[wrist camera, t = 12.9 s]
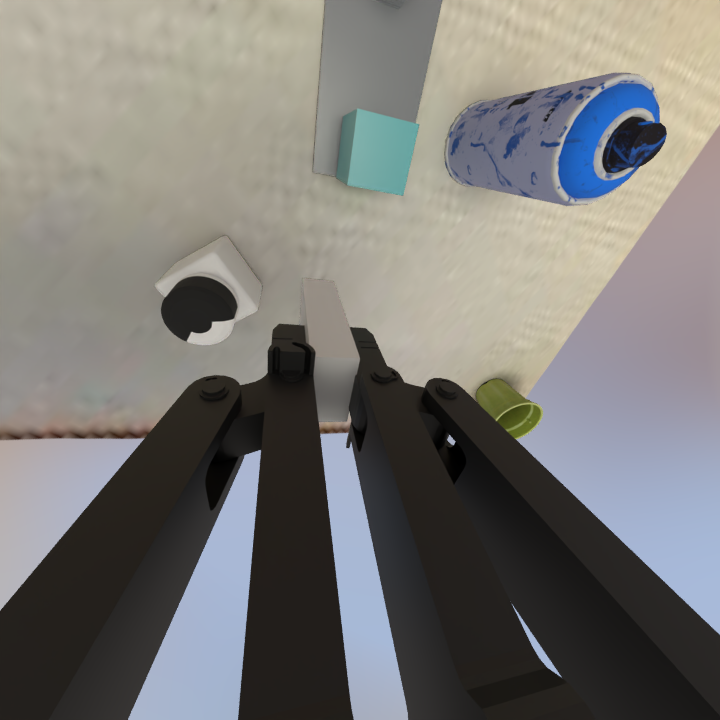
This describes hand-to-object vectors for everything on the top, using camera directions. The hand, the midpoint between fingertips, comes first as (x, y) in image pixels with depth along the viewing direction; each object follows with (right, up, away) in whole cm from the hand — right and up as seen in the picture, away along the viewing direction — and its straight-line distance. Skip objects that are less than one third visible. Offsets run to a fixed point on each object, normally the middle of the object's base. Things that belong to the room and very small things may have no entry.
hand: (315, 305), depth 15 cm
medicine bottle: (-15, +8, +22) cm, 27 cm away
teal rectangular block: (+3, +19, +16) cm, 25 cm away
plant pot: (+28, -9, +44) cm, 52 cm away
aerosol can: (+15, +22, +19) cm, 33 cm away
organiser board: (+3, +24, +14) cm, 28 cm away
